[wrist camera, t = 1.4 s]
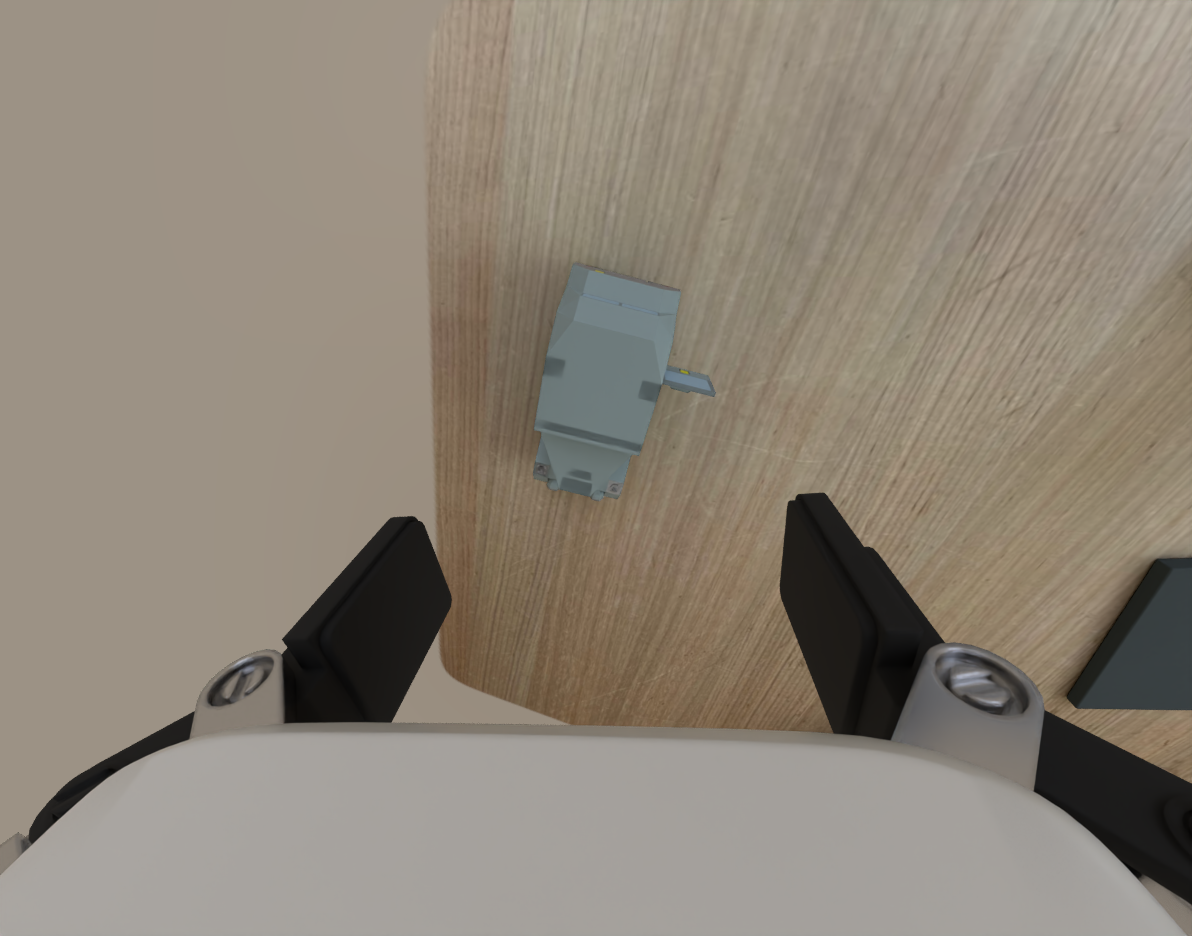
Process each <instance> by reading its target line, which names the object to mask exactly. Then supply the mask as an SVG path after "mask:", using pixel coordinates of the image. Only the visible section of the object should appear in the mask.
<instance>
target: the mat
mask: <svg viewBox="0 0 1192 936" xmlns="http://www.w3.org/2000/svg"><path fill="white" fill-rule="evenodd" d="M1067 699H1068V700H1069V701H1070V702H1071V703H1072V704H1073V705H1074V707H1075V708H1077V709H1141V710H1192V558H1183V559H1158V560H1156V562H1155V563H1154V565H1153V566H1152V568H1151V569H1150V571H1149V572H1148V574H1147V575H1146V577H1145V578H1144V580H1143V582H1142V583H1141V585H1140V586H1139V588H1138V589H1137V591H1136V592H1135V594H1134V595H1133V597H1132V598H1131V600H1130V601H1129V603H1128V604H1127V606H1126V607H1125V609H1124V610H1123V612H1122V614H1121V615H1120V617H1119V618H1118V620H1117V621H1116V623H1115V624H1114V626H1113V627H1112V629H1111V630H1110V632H1109V633H1108V635H1107V636H1106V638H1105V639H1104V641H1103V642H1102V644H1101V646H1100V647H1099V649H1098V650H1097V652H1096V653H1095V655H1094V656H1093V658H1092V659H1091V661H1090V662H1089V664H1088V665H1087V667H1086V668H1085V670H1084V671H1083V673H1082V675H1081V676H1080V678H1079V679H1078V681H1077V682H1076V684H1075V685H1074V687H1073V688H1072V690H1071V691H1070V693H1069V694H1068V696H1067Z"/></svg>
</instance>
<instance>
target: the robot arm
mask: <svg viewBox="0 0 1192 936" xmlns="http://www.w3.org/2000/svg"><path fill="white" fill-rule="evenodd" d="M780 594H781V599H782V602H783V604H784V607H785V609H786V612H787V615H788V617H789V620H790V622H791V625H792V627H793V630H794V633H795V635H796V638H797V640H798V643H799V645H800V648H801V651H802V653H803V656H804V658H805V661H806V664H807V666H808V669H809V671H810V674H811V676H812V679H813V682H814V684H815V687H816V689H817V692H818V694H819V697H820V700H821V702H822V705H823V707H824V710H825V712H826V715H827V718H828V720H829V723H830V725H831V728H832V730H833V732H834V734H832V733H820V732H801V731H776V730H750V729H723V728H678V727H634V726H585V725H527V724H524V725H523V724H465V723H463V724H462V723H461V724H460V723H391V722H392V720H393V718H394V717H395V715H396V712H397V711H398V709H399V707H400V705H401V703H402V701H403V699H404V697H405V695H406V693H407V691H408V689H409V687H410V685H411V683H412V681H413V679H414V678H415V675H416V674H417V672H418V670H419V668H420V666H421V664H422V662H423V660H424V658H425V656H426V654H427V652H428V650H429V648H430V646H431V644H432V643H433V641H434V639H435V637H436V635H437V633H438V631H439V629H440V627H441V625H442V623H443V621H444V619H445V617H446V615H447V613H448V611H449V609H450V607H451V601H452V598H451V593H450V591H449V588H448V586H447V583H446V580H445V578H444V575H443V573H442V570H441V567H440V565H439V562H438V560H437V557H436V554H435V552H434V549H433V547H432V544H431V542H430V539H429V536H428V534H427V531H426V529H425V526H424V524H423V523H422V522H420V521H418V520H417V519H416V518H415V517H413V516H408V517H393V518H390V519H389V520H388V521H387V522H386V523H385V524H384V526H383V527H382V528H381V529H380V530H379V531H378V532H377V533H376V535H375V536H374V537H373V538H372V539H371V540H370V541H369V542H368V543H367V545H366V546H365V547H364V548H363V549H362V550H361V551H360V552H359V554H358V555H357V556H356V557H355V558H354V559H353V560H352V562H351V563H350V564H349V565H348V566H347V567H346V568H345V569H344V570H343V572H342V573H341V574H340V575H339V576H338V577H337V578H336V579H335V580H334V582H333V583H332V584H331V585H330V586H329V587H328V588H327V589H326V591H325V592H324V593H323V594H322V595H321V596H320V597H319V598H318V600H317V601H316V602H315V603H314V604H313V605H312V606H311V608H310V609H309V610H308V611H307V612H306V613H305V614H304V615H303V616H302V617H301V619H300V620H299V621H298V622H297V623H296V624H295V625H294V626H293V628H292V629H291V630H290V631H289V632H288V633H287V634H286V635H285V637H284V638H283V639H282V640H283V641H284V643H285V645H286V646H287V647H288V648H287V649H286V650H285V651H284V653H283V654H282V655H281V654H280V653H279V652H277V651H276V650H268V649H266V650H261V651H256V652H253V653H251V654H248V655H245V656H243V657H241V658H240V659H238V660H236V661H234V662H232V663H231V664H229V665H228V666H226V667H225V668H224V669H222V670H221V671H220V672H218V673H217V674H216V675H215V676H214V677H213V678H212V679H211V680H210V681H209V682H208V683H207V685H206V686H205V687H204V689H203V690H202V691H201V693H200V695H199V698H198V700H197V704H196V709H195V711H194V712H192V713H190V714H188V715H187V716H185V717H183V718H181V719H179V720H178V721H176V722H174V723H172V724H170V725H168V726H166V727H165V728H163V729H161V730H159V731H157V732H155V733H154V734H152V735H150V736H148V737H146V738H144V739H142V740H141V741H139V742H137V743H135V744H133V745H132V746H130V747H128V748H126V749H124V750H122V751H120V752H119V753H117V754H115V755H113V756H111V757H110V758H108V759H106V760H104V761H102V762H100V763H98V764H97V765H95V766H93V767H92V768H90V769H88V770H87V771H85V772H83V773H81V774H80V775H78V776H77V777H75V778H73V779H72V780H71V781H69V782H68V783H67V784H66V785H65V786H64V787H63V788H62V789H61V790H60V791H58V793H57V794H56V795H55V796H54V797H53V798H52V799H51V800H50V801H49V802H48V803H47V804H46V806H45V807H44V808H43V809H42V810H41V812H40V813H39V814H38V816H37V817H36V819H35V820H34V822H33V824H32V826H31V828H30V830H29V835H27V836H26V837H25V836H23V835H22V834H20V833H19V832H18V833H17V834H15V835H14V836H12V837H11V838H9V839H8V840H7V841H5V842H4V843H2V844H1V845H0V936H1192V784H1191V783H1189V782H1187V781H1185V780H1183V779H1181V778H1179V777H1177V776H1175V775H1173V774H1171V773H1169V772H1167V771H1165V770H1163V769H1161V768H1159V767H1157V766H1155V765H1153V764H1151V763H1149V762H1147V761H1145V760H1143V759H1141V758H1139V757H1137V756H1135V755H1133V754H1131V753H1129V752H1127V751H1125V750H1123V749H1121V748H1119V747H1117V746H1115V745H1113V744H1111V743H1109V742H1107V741H1105V740H1103V739H1101V738H1099V737H1097V736H1095V735H1093V734H1091V733H1089V732H1087V731H1085V730H1083V729H1081V728H1079V727H1077V726H1075V725H1073V724H1071V723H1069V722H1067V721H1065V720H1063V719H1061V718H1059V717H1057V716H1055V715H1053V714H1051V713H1049V712H1047V711H1045V710H1044V703H1043V697H1042V695H1041V694H1040V692H1039V690H1038V689H1037V687H1036V685H1035V684H1034V683H1033V682H1032V681H1031V680H1030V679H1029V678H1028V677H1027V676H1026V675H1025V673H1024V672H1023V671H1021V670H1020V669H1019V668H1017V667H1016V666H1014V665H1013V664H1012V663H1010V662H1009V661H1007V660H1006V659H1004V658H1002V657H1000V656H998V655H996V654H994V653H992V652H990V651H988V650H985V649H982V648H979V647H976V646H973V645H968V644H962V643H955V642H953V643H945V642H944V641H943V640H942V638H941V637H940V636H939V634H938V633H937V632H936V630H935V629H934V628H933V626H932V625H931V624H930V622H929V621H928V620H927V618H926V617H925V616H924V614H923V613H922V612H921V610H920V609H919V608H918V606H917V605H916V604H915V602H914V601H913V600H912V598H911V597H910V596H909V594H908V593H907V592H906V590H905V589H904V588H903V586H902V585H901V584H900V582H899V581H898V580H897V578H896V577H895V576H894V574H893V573H892V571H891V570H890V569H889V567H888V566H887V565H886V563H885V562H884V561H883V559H882V558H881V557H880V555H879V554H878V553H877V552H876V551H875V550H874V549H873V548H870V547H864V546H863V545H862V544H861V542H860V541H859V539H858V538H857V537H856V535H855V534H854V532H853V531H852V530H851V528H850V527H849V526H848V524H847V523H846V521H845V520H844V519H843V517H842V516H841V514H840V513H839V512H838V510H837V509H836V507H835V506H834V505H833V503H832V502H831V501H830V499H829V498H828V496H827V495H826V494H825V493H809V494H798V495H797V496H796V499H795V500H793V501H789V502H788V506H787V515H786V526H785V536H784V547H783V557H782V567H781V578H780Z"/></svg>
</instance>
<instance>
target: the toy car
mask: <svg viewBox="0 0 1192 936" xmlns="http://www.w3.org/2000/svg"><path fill="white" fill-rule="evenodd" d="M680 295H681V291H680V289H676V288H672V287H668V286H664V285H661V284H657V283H653V282H649V281H648V283H647V282H645V280H642V279H638V278H634V277H630V276H626V275H622V274H619V273H615V272H611V271H607V270H603V269H600V268H596V267H592V266H588V265H584V264H580V263H577V262H575V263H573V266H572V269H571V273H570V276H569V280H568V283H567V286H566V289H565V291H564V294H563V297H562V299H561V302H560V304H559V307H558V310H557V313H556V317H555V321H554V325H553V330H552V334H551V338H550V342H549V346H548V351H547V355H546V360H545V366H544V372H543V378H542V384H541V390H540V396H539V402H538V408H537V414H536V419H535V425H534V430H536V431H540V432H541V435H542V436H541V440H540V444H539V448H538V452H537V456H536V461H535V466H534V471H533V476H534V479H537V480H541V481H545V482H548V483H547V486H548V488H549V489H550V490H554V491H557V490H559V489H560V490H564V491H568V492H572V493H576V494H580V495H584V496H589V497H590V498H591V499H592V500H595V501H600V500H602V499H603V496H606V497H610V498H614V499H618V497H619V496H620V494H621V491H622V487H623V484H624V480H625V477H626V473H627V469H628V465H629V461H630V457H631V456H632V455H637V456H639V455H640V451H641V448H642V445H643V442H644V439H645V436H646V433H647V430H648V426H649V423H650V420H651V417H652V414H653V411H654V408H655V405H656V402H657V398H658V395H659V392H660V389H661V386H662V384H665V385H669V386H670V387H671V389H675V390H679V391H683V392H686V393H689V392H691V391H692V392H696V393H700V394H704V395H708V396H712V397H714V396H715V394H716V392H715V390H714V387H713V385H712V383H711V381H710V378H709V376H708V375H704V374H700V373H696V372H692V371H688V370H685V369H681V368H677V367H673V366H669V365H667V363H668V359H669V355H670V351H671V347H672V343H673V337H674V329H675V322H676V314H677V309H678V304H679V300H680Z"/></svg>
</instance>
